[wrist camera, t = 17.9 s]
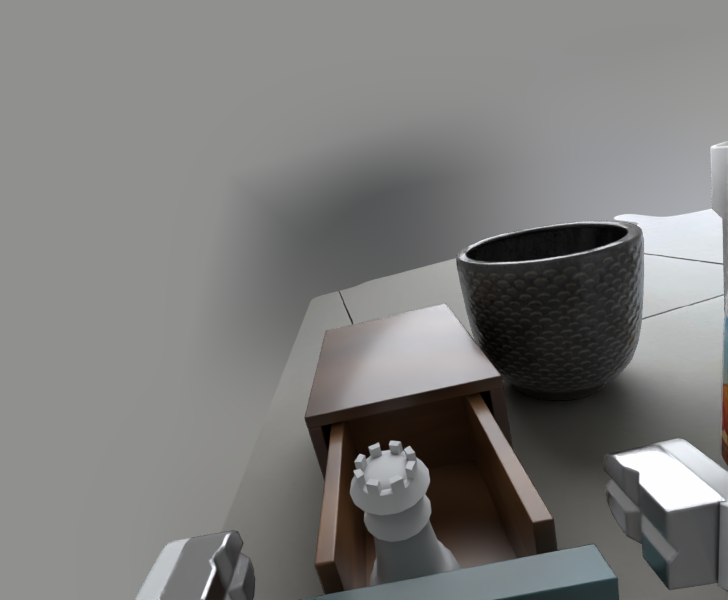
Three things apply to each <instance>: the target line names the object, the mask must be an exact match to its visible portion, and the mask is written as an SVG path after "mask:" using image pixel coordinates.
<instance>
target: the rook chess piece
mask: <svg viewBox="0 0 728 600" xmlns="http://www.w3.org/2000/svg"><path fill="white" fill-rule="evenodd" d="M389 447H390V450H386V451H381V448H380V445H379V442H378V443H376V444H374V445H372V446H369V447H368V448H369V452H370V455H371V456H370V457H369V458H367V459H366V457H365V455H362V454H359V456H358V457H357V459H356V460H355V462H354V463H355V466H356V470H354V475H355V476H354V477H353V479H352V481H351V488H350V495H351V497H352V499H353V502H354V504H355V505H356V506H358V507H359V508H360V509H362V510H363V511H364V512H365V513H364V522H365V525H366V527H367V529H368V531H369V532H370V533H371V534H372V535H373V536H374V540H375V549H376V560H375V562H374V569H373V571H372V573H371V575H370V586H374V585H379V584H384V583H390V582H395V581H400V580H405V579H411V578H416V577H421V576H427V575H432V574H437V573H442V572H448V571H453V570H458V569H462V568H461V567H460V565H459V563H458V562H457V560H456V559H455V557H454V556H453V554H452V553H451V551H450V550H448V549H447V548H445V547H444V545H443V544H442V543H441V542H440V541H438V540H437V538H436V535H435V533H434V531H433V528H432V526H431V524H430V521H429V517H430V515H431V505H430V500H429V499H428V498H427V496H426V495H425V494H426V491H427V488H428V486H429V483H430V477H429V470H428V468H427V467H426V466H425V465H424V463H423V462H422V461H421V460H419V459H418V458H416V455H415V452H414V451H413V449H412V448H411V447H410V446H408V447H407V448H405V449H404V451H403V448H402V444H401V442H400V441H390V443H389Z"/></svg>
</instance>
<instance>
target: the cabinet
mask: <svg viewBox="0 0 728 600" xmlns="http://www.w3.org/2000/svg"><path fill="white" fill-rule="evenodd" d="M474 393H479V394H480V395H481V397H482V399H483V400H484V402H485V404H486V406H487V407H488V409H489V411H490V412H491V414H492V416H493V417H494V419H495V421H496V422H497V424H498V426H499V427H500V429H501V431H502V433H503V434H504V436H505V438H506V439H507V441H508V443H509V444H510V446H511V448H512V441H511V435H510V428H509V421H508V415H507V408H506V401H505V395H504V388H503V382H502V376H501V375H500V373H499V372H498V371H497V369H496V368H495V367H494V365H493V364H492V363H491V362H490V360H489V359H488V358H487V356H486V355H485V354H484V352H483V351H482V350H481V349H480V347H479V346H478V345H477V343H476V342H475V341H474V339H473V338H472V337H471V336H470V334H469V333H468V332H467V330H466V329H465V328H464V326H463V325H462V324H461V323H460V321H459V320H458V319H457V317H456V316H455V315H454V313H453V312H452V311H451V310H450V308H449V307H448V306H447V304H442V305H437V306H433V307H429V308H424V309H420V310H415V311H411V312H406V313H402V314H398V315H393V316H389V317H384V318H380V319H376V320H371V321H367V322H362V323H358V324H353V325H349V326H345V327H340V328H336V329H331V330H327V331H326V332H325V336H324V340H323V344H322V348H321V352H320V356H319V360H318V365H317V369H316V373H315V377H314V381H313V385H312V389H311V393H310V397H309V402H308V406H307V410H306V414H305V421H306V425H307V428H308V431H309V434H310V437H311V440H312V443H313V446H314V450H315V453H316V456H317V459H318V462H319V465H320V469H321V472H322V475H323V478H324V481H325V475H326V467H327V458H328V450H329V442H330V433H331V425H332V424H333V423H338V422H343V421H348V420H352V419H357V418H362V417H366V416H371V415H376V414H380V413H385V412H390V411H395V410H399V409H404V408H409V407H413V406H418V405H423V404H427V403H432V402H437V401H442V400H446V399H451V398H456V397H460V396H465V395H470V394H474ZM512 449H513V448H512Z"/></svg>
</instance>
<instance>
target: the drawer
mask: <svg viewBox="0 0 728 600" xmlns="http://www.w3.org/2000/svg"><path fill="white" fill-rule="evenodd" d="M390 441H400V442H401V444H402V448H403V451H404V449H405V448H407V447H408V446H410V447H411V448H412V449H413V451H414V452H415V455H416V458H418V459H419V460H421V461H422V462H423V463H424V465H425V466H426V467H427V468H428V470H429V477H430V483H429V486H428V488H427V491H426V494H425V495H426V496H427V498H428V499H429V500H430V505H431V515H430V517H429V521H430V524H431V526H432V528H433V531H434V533H435V535H436V538H437V540H438V541H440V542H441V543H442V544H443V545H444V547H445V548H447V549H448V550H450V551H451V553H452V554H453V556H454V557H455V559H456V560H457V562H458V563H459V565H460V567H461V568H462V569H458V570H453V571H448V572H442V573H437V574H432V575H427V576H421V577H416V578H411V579H405V580H400V581H395V582H390V583H384V584H379V585H374V586H370V575H371V573H372V571H373V569H374V562H375V560H376V549H375V540H374V536H373V535H372V534H371V533H370V532H369V531H368V529H367V527H366V525H365V522H364V513H365V512H364V511H363V510H362V509H360V508H359V507H358V506H356V505H355V504H354V502H353V499H352V497H351V495H350V488H351V481H352V479H353V477H354V476H355V475H354V470H356V466H355V463H354V462H355V460H356V459H357V457H358V456H359V454H362V455H365V457H366V459H367V458H369V457H370V456H371V455H370V452H369V448H368V447H369V446H372V445H374V444H376V443H378V442H379V445H380V448H381V451H386V450H390V447H389V443H390ZM315 568H316V571H317V574H318V577H319V579H320V582H321V585H322V588H323V591H324V594H325V595H321V596H316V597H310V598H305V599H300V600H619V591H618V579H617V577H616V575H615V574H614V572H613V571H612V569H611V568H610V566H609V565H608V563H607V562H606V560H605V559H604V557H603V556H602V554H601V553H600V551H599V550H598V548H597V547H596V545H595V544H590V545H585V546H580V547H575V548H569V549H564V550H559V551H558V549H557V541H556V533H555V525H554V519H553V517H552V515H551V514H550V512H549V510H548V509H547V507H546V505H545V503H544V502H543V500H542V498H541V497H540V495H539V493H538V492H537V490H536V488H535V487H534V485H533V483H532V482H531V480H530V478H529V476H528V475H527V473H526V471H525V470H524V468H523V466H522V465H521V463H520V461H519V460H518V458H517V456H516V454H515V453H514V451H513V449H512V448H511V446H510V444H509V443H508V441H507V439H506V438H505V436H504V434H503V433H502V431H501V429H500V427H499V426H498V424H497V422H496V421H495V419H494V417H493V416H492V414H491V412H490V411H489V409H488V407H487V406H486V404H485V402H484V400H483V399H482V397H481V395H480V394H479V393H474V394H470V395H465V396H460V397H456V398H451V399H446V400H442V401H437V402H432V403H427V404H423V405H418V406H413V407H409V408H404V409H399V410H395V411H390V412H385V413H380V414H376V415H371V416H366V417H362V418H357V419H352V420H348V421H343V422H338V423H333V424H332V425H331V433H330V442H329V450H328V458H327V467H326V475H325V483H324V491H323V500H322V508H321V516H320V525H319V533H318V541H317V550H316V558H315Z"/></svg>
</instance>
